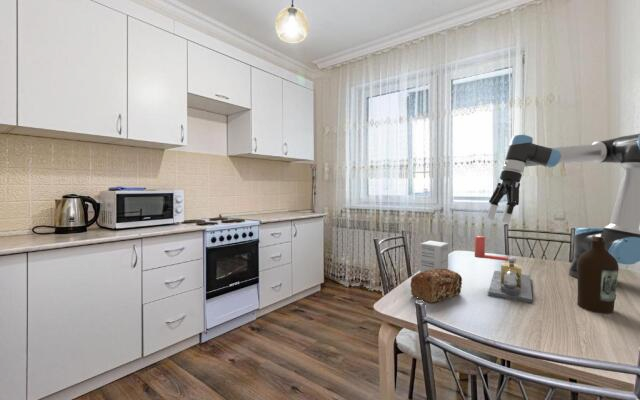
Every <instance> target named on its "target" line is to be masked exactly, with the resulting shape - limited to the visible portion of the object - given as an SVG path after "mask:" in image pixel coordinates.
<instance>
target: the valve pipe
mask: <svg viewBox="0 0 640 400" xmlns="http://www.w3.org/2000/svg"><path fill="white" fill-rule="evenodd" d="M500 266H501V267H500V271H499V270H494V272H493V276H492V279H491V281H490V285H489V289H488V293H487V295H488V296H489V297H495V298H502V299H507V300H512V301H517V302H524V303H529V304H532V303H533V294H532V293H533V292H532V283H531V282H532V281H531V275H530V274H523V273H522V264H518V263H517V261H516V262H510V261H506V262H504V261H503V262H501V265H500Z"/></svg>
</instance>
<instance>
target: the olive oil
mask: <svg viewBox="0 0 640 400" xmlns="http://www.w3.org/2000/svg"><path fill="white" fill-rule="evenodd" d="M592 239H593V240H592V247H591V248H590V249H588V250H587V251H586V252H584V253H583V254H581V255H580V256H579V258H578V261H577V276H578V278H577V305H578V306H579V307H580V308H582V309H584V310H587V311H591V312H594V313H600V314H601V313H602V314H612V313H614V311H615V310H614V309H615V301H616V300H617V294H616V291H617V285H618V276H619V271H620V270H619V269H620V268H619V263H617V261H616V259H615V258H614V257H613V256H612V255H611V254H610V253H609V252H608V251H607V250H606V249H605V241H604V240H605V238H604V237H598V236H593V237H592Z"/></svg>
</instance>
